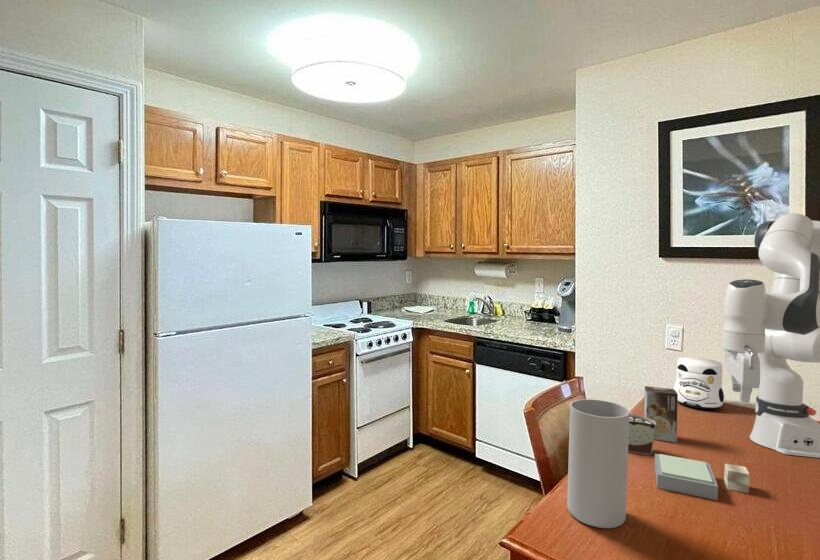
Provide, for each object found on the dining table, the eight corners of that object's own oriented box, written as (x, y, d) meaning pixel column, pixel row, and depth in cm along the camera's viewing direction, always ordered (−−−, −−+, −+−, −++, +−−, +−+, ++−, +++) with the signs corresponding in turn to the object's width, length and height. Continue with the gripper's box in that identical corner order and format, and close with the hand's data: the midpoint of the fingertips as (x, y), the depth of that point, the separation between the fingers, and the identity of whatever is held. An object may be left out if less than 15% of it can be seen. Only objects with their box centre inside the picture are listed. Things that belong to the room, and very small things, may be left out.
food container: (653, 447, 140) (654, 416, 140) (656, 455, 134) (658, 423, 134) (610, 441, 144) (611, 411, 144) (612, 449, 138) (613, 417, 138)
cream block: (744, 485, 117) (745, 466, 117) (748, 493, 113) (749, 474, 113) (723, 481, 119) (724, 463, 119) (727, 489, 115) (728, 470, 115)
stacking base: (708, 475, 122) (709, 461, 122) (717, 500, 110) (718, 484, 109) (654, 465, 128) (655, 451, 128) (657, 487, 115) (657, 472, 115)
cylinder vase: (596, 535, 95) (600, 420, 94) (555, 505, 107) (558, 402, 105) (638, 522, 100) (642, 413, 99) (594, 495, 112) (598, 396, 110)
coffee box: (673, 435, 150) (675, 388, 149) (676, 443, 144) (678, 394, 143) (642, 431, 153) (644, 385, 152) (644, 438, 147) (646, 390, 146)
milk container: (683, 410, 175) (685, 365, 174) (666, 397, 192) (667, 355, 191) (732, 413, 172) (734, 367, 171) (710, 399, 189) (712, 357, 188)
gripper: (769, 351, 104) (766, 410, 104) (748, 338, 122) (746, 387, 123) (736, 349, 106) (734, 406, 107) (720, 335, 125) (718, 384, 125)
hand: (740, 396), depth 115 cm, fingers open, 8 cm apart
